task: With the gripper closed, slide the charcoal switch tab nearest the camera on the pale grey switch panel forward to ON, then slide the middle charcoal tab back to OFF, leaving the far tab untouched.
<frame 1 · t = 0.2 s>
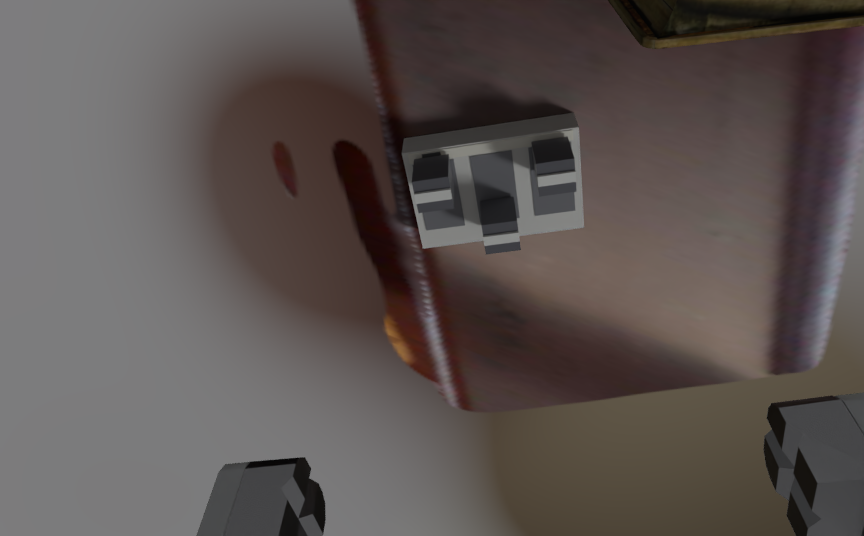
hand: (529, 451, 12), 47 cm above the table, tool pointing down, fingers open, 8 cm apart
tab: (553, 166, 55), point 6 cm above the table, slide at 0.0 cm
tab middle: (500, 225, 58), point 6 cm above the table, slide at 5.0 cm
switch panel: (494, 175, 62), on the table
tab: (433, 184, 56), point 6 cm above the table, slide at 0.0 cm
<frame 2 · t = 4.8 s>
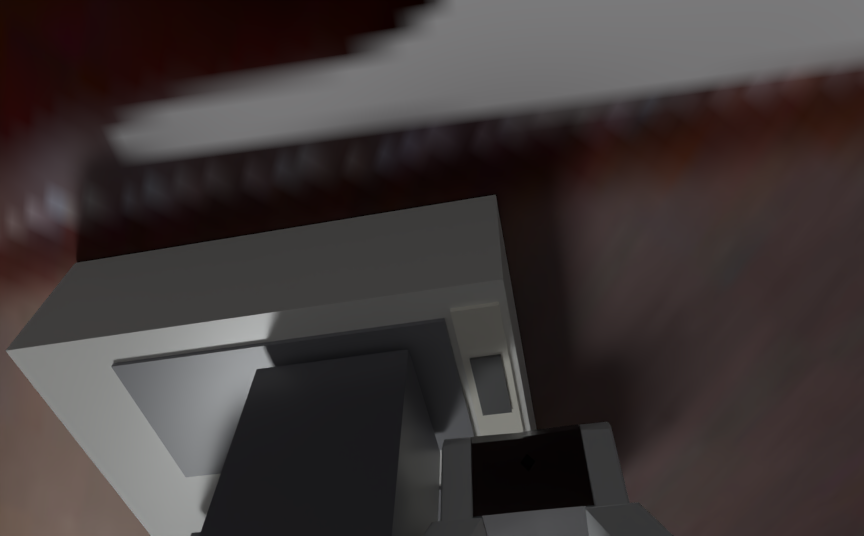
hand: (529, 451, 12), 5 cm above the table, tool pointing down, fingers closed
switch panel: (362, 444, 19), on the table
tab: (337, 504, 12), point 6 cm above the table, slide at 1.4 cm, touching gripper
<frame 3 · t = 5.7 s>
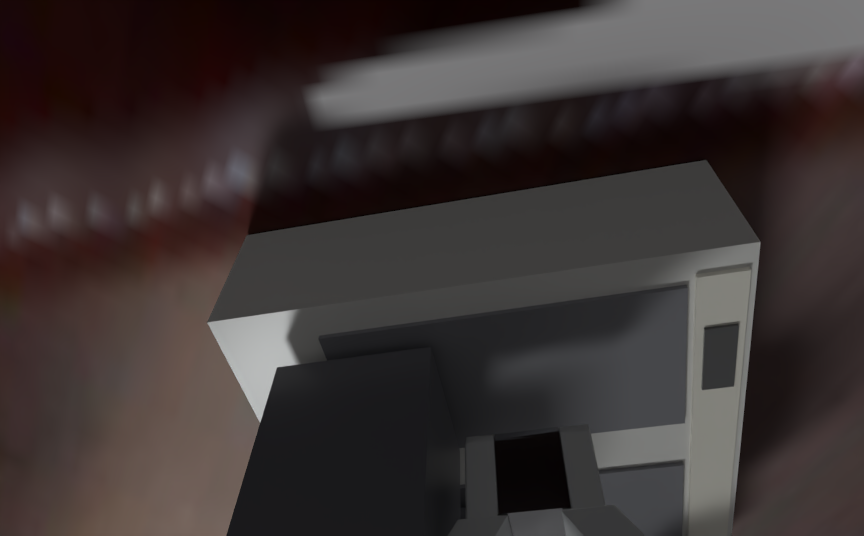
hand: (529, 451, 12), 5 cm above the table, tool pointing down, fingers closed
switch panel: (511, 428, 19), on the table
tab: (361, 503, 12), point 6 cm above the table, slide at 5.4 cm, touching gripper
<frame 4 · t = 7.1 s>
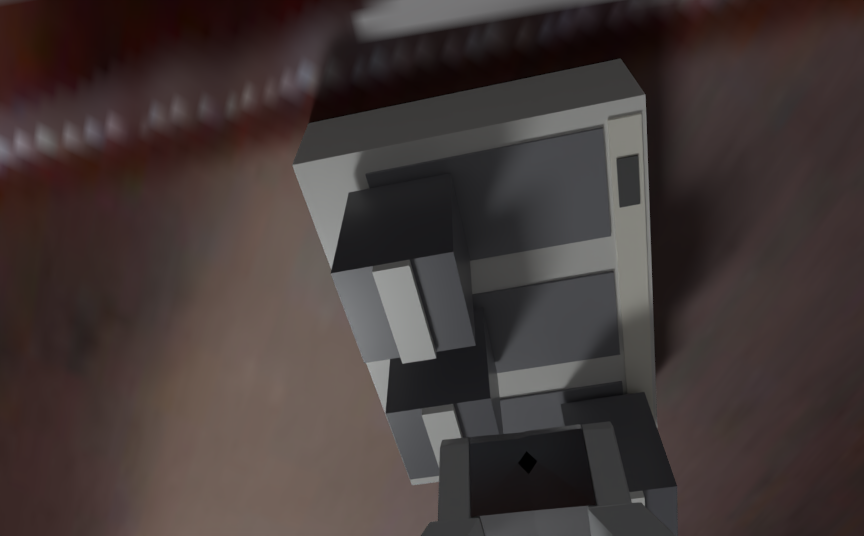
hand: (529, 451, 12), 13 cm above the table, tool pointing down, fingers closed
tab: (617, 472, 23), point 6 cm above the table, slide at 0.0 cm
tab middle: (447, 394, 21), point 6 cm above the table, slide at 5.0 cm
switch panel: (497, 279, 25), on the table
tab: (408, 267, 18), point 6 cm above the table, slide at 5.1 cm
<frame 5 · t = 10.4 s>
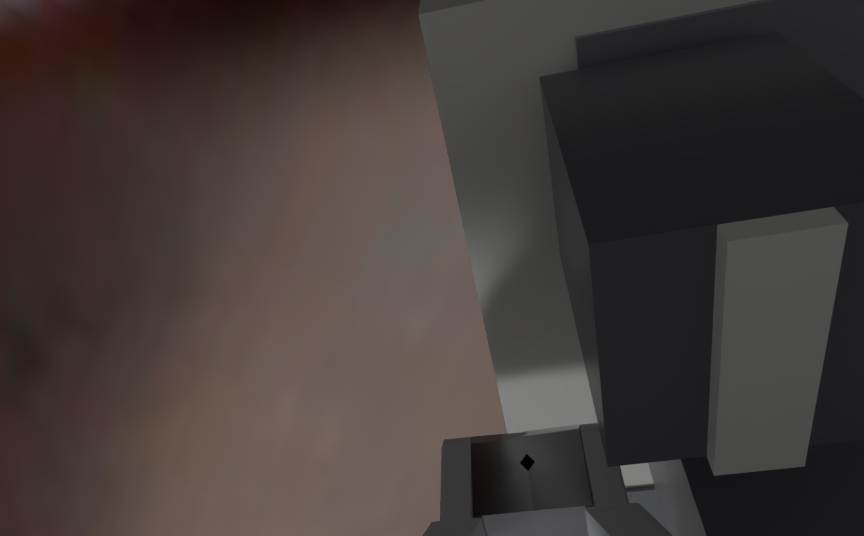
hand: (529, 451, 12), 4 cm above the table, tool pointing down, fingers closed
tab middle: (771, 489, 10), point 6 cm above the table, slide at 3.9 cm, touching gripper
switch panel: (716, 272, 15), on the table
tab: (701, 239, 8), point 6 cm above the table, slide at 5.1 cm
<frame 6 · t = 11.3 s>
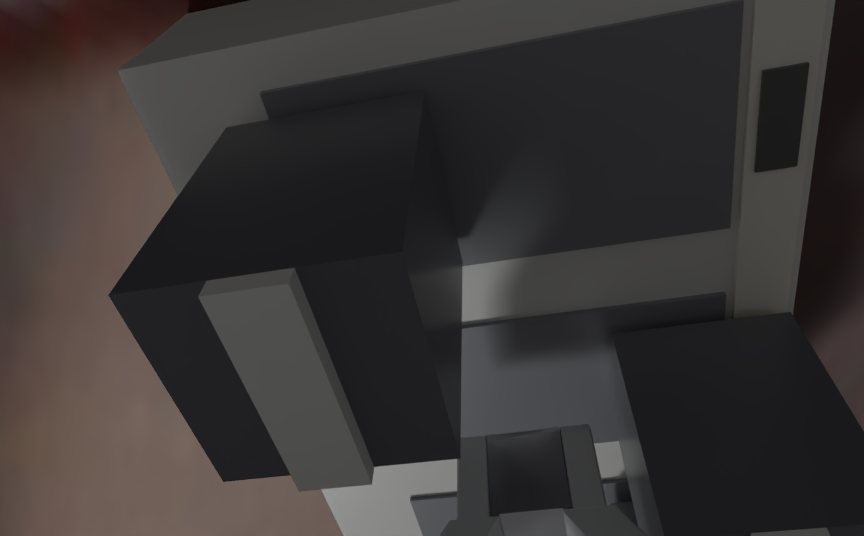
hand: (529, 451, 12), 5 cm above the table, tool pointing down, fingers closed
tab middle: (734, 478, 11), point 6 cm above the table, slide at -0.3 cm, touching gripper
switch panel: (513, 294, 16), on the table
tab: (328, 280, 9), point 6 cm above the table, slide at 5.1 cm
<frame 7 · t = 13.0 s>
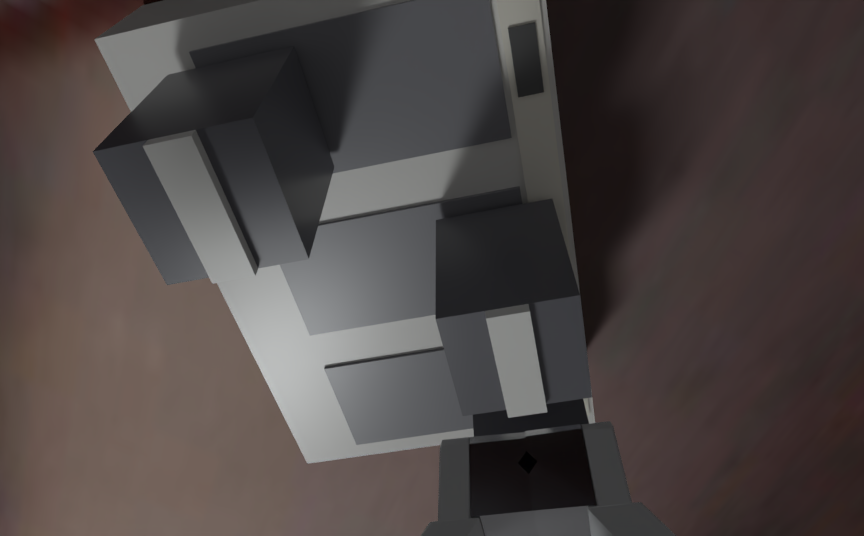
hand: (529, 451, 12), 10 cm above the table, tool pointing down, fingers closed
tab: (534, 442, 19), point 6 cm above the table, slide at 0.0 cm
tab middle: (509, 306, 16), point 6 cm above the table, slide at 0.0 cm
switch panel: (397, 213, 21), on the table
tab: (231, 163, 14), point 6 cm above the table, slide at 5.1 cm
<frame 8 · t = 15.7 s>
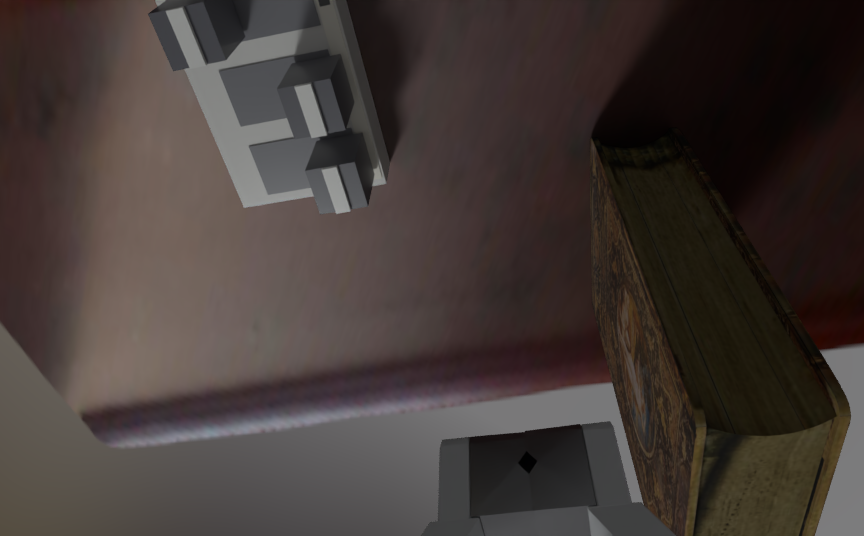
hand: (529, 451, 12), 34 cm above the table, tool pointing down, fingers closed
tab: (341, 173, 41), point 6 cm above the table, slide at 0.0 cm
tab middle: (317, 96, 38), point 6 cm above the table, slide at 0.0 cm
switch panel: (286, 72, 43), on the table
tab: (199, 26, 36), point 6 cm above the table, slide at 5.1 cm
book: (628, 226, 49), on the table
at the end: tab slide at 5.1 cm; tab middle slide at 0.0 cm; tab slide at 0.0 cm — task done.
